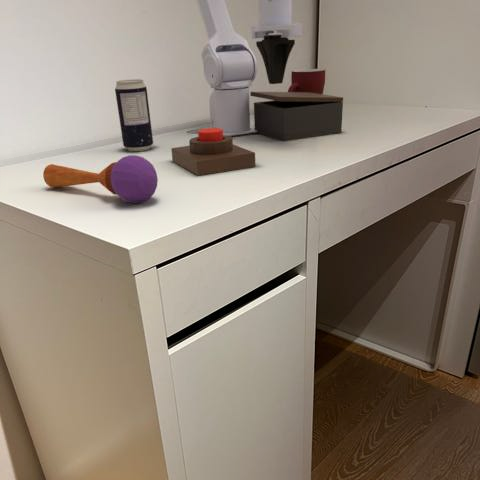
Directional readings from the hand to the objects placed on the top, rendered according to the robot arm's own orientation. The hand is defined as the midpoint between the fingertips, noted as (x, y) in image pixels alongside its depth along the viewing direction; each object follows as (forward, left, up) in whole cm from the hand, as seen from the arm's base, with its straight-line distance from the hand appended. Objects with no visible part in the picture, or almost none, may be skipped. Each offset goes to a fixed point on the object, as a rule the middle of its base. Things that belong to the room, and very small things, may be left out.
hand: (275, 83), depth 92 cm
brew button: (+9, -17, -7) cm, 20 cm away
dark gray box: (-7, +9, -10) cm, 16 cm away
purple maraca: (+17, -37, -11) cm, 42 cm away
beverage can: (-11, -24, -11) cm, 28 cm away
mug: (-25, +22, -11) cm, 35 cm away
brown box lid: (-7, +9, -4) cm, 12 cm away
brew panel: (+9, -17, -10) cm, 22 cm away
